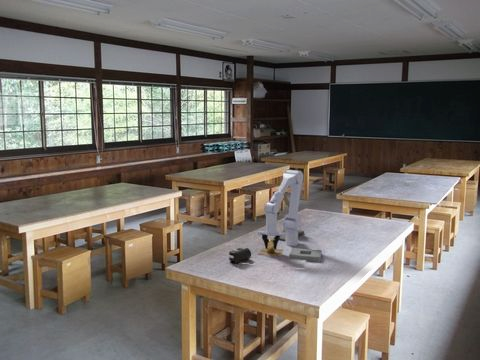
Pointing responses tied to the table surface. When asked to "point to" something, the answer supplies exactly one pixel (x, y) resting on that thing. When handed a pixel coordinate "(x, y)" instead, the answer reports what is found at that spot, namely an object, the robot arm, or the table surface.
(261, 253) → the stand pad
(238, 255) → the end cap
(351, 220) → the table surface
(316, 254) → the grey square socket plate
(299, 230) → the embossing press
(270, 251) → the brass peg
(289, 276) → the table surface
